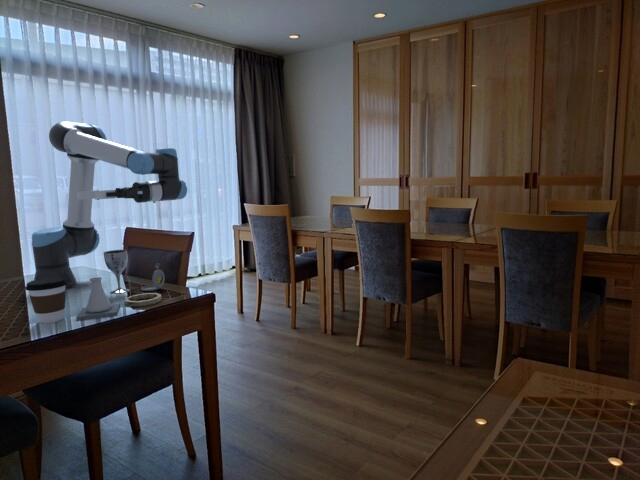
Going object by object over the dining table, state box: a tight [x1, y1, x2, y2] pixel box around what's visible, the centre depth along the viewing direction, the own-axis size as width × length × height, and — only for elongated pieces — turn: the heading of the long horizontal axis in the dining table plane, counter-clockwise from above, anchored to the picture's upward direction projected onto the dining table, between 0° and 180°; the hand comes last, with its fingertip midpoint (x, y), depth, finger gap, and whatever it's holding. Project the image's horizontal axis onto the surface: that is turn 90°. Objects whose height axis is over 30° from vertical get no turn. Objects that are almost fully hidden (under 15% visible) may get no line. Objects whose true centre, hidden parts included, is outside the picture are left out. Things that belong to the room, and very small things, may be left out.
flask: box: [85, 276, 112, 313], centre depth 145 cm, size 7×7×10 cm
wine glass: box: [103, 249, 131, 295], centre depth 173 cm, size 8×8×15 cm
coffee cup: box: [24, 277, 68, 324], centre depth 140 cm, size 11×11×12 cm
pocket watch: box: [141, 262, 166, 292], centre depth 173 cm, size 8×8×10 cm
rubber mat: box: [76, 302, 121, 321], centre depth 146 cm, size 11×11×1 cm
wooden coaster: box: [123, 292, 162, 308], centre depth 157 cm, size 11×11×2 cm
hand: (86, 195), depth 157 cm, fingers open, 13 cm apart
